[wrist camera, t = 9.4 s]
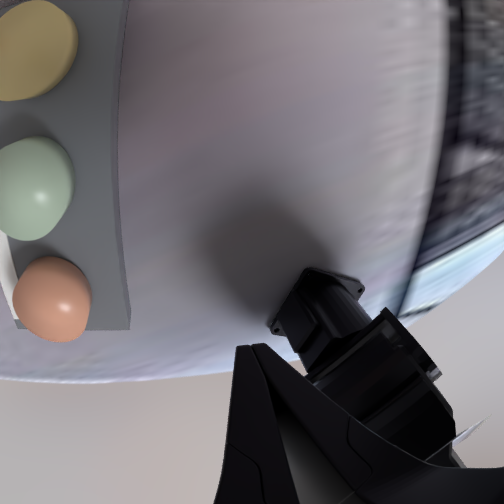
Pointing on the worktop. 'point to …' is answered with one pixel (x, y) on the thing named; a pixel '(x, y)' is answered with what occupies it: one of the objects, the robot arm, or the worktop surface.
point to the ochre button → (35, 49)
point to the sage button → (34, 187)
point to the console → (79, 163)
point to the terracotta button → (53, 299)
